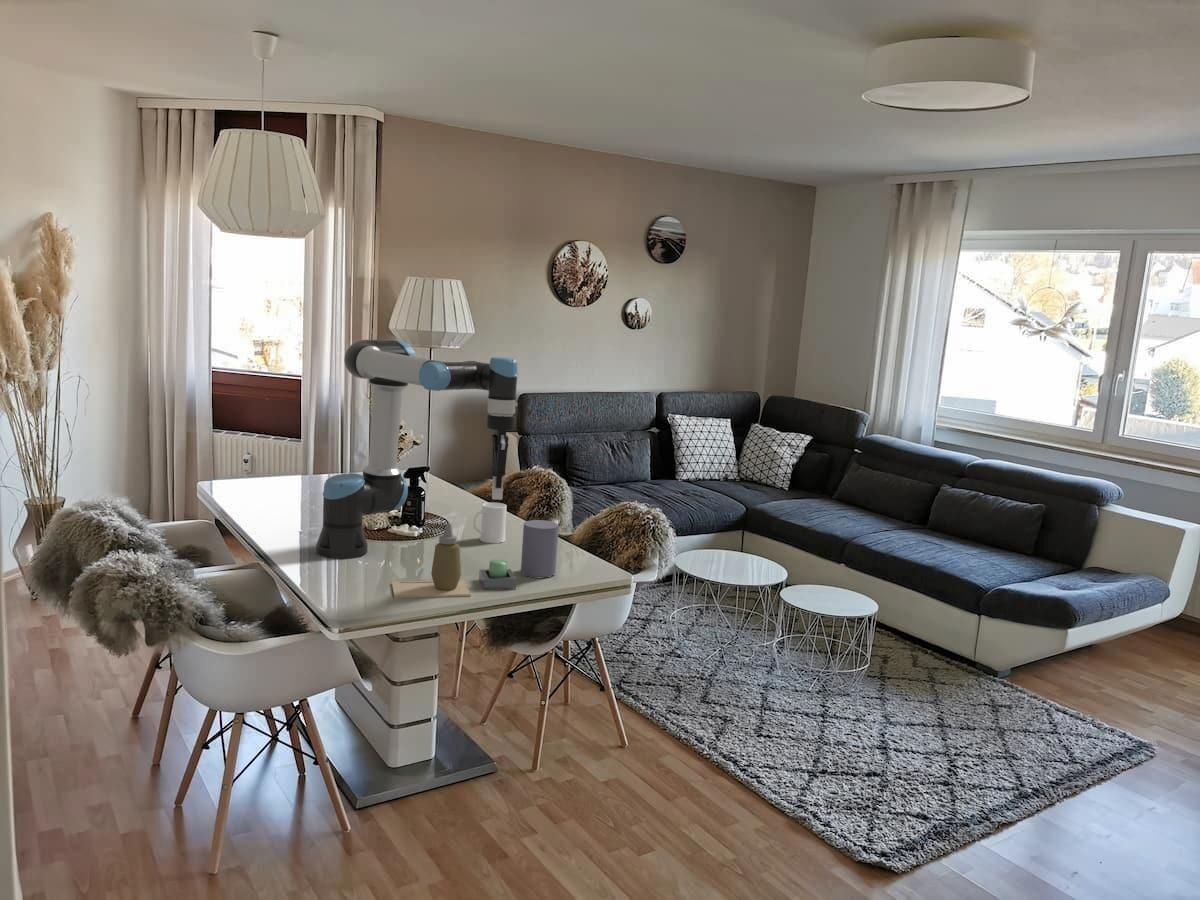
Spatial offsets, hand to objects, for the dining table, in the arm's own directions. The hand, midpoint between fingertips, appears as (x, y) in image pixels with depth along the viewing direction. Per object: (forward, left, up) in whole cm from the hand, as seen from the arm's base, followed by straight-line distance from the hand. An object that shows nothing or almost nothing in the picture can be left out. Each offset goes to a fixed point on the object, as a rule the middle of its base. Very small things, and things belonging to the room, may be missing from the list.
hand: (497, 498), depth 252 cm
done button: (+2, +1, -23) cm, 23 cm away
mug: (+7, +48, -25) cm, 54 cm away
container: (+16, +11, -25) cm, 32 cm away
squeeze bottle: (-13, -3, -25) cm, 28 cm away
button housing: (+2, +1, -25) cm, 25 cm away
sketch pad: (-17, -3, -25) cm, 31 cm away
